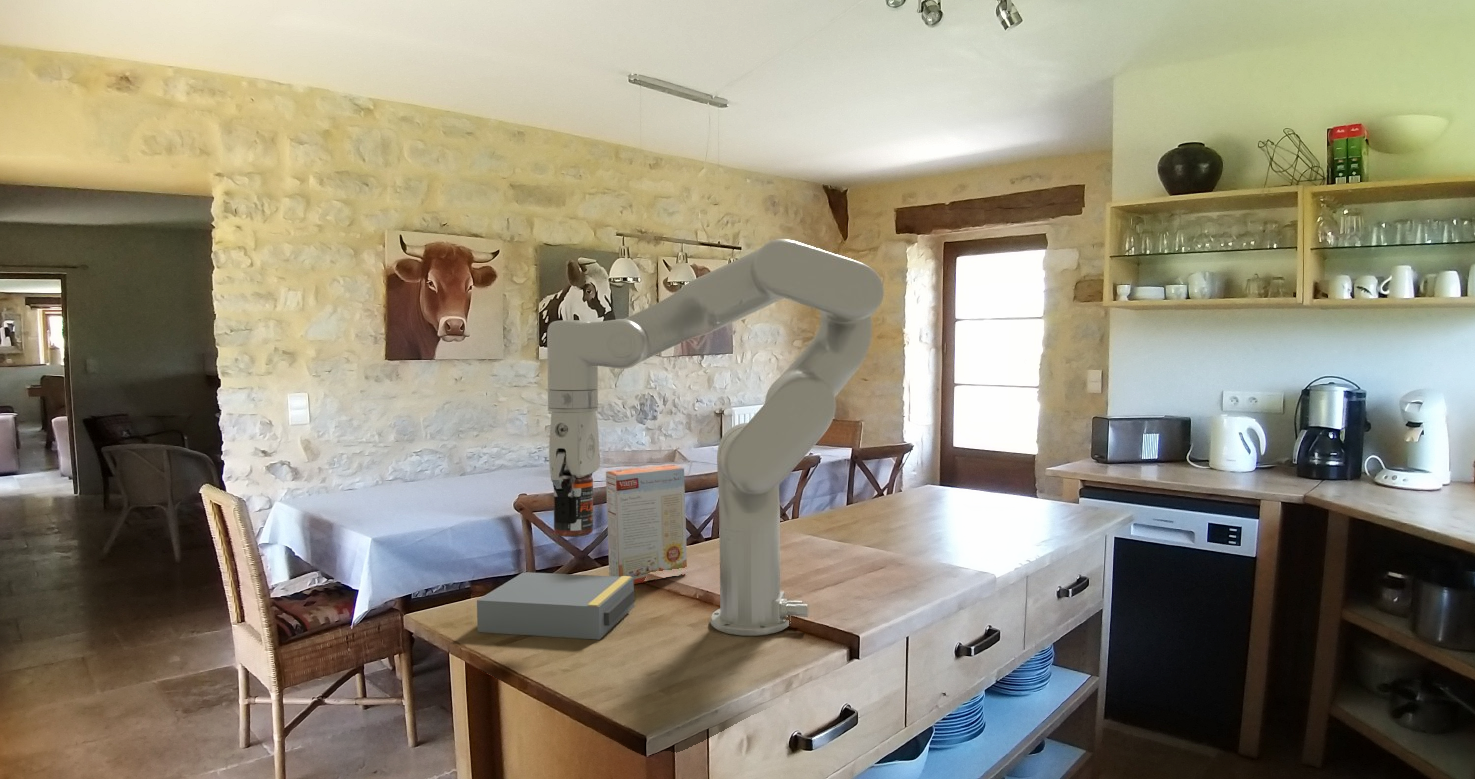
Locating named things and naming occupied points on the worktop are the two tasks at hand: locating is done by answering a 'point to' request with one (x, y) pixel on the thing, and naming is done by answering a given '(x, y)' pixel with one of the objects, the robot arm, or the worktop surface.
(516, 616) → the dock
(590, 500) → the supplement bottle
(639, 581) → the cracker box
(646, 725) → the worktop surface
